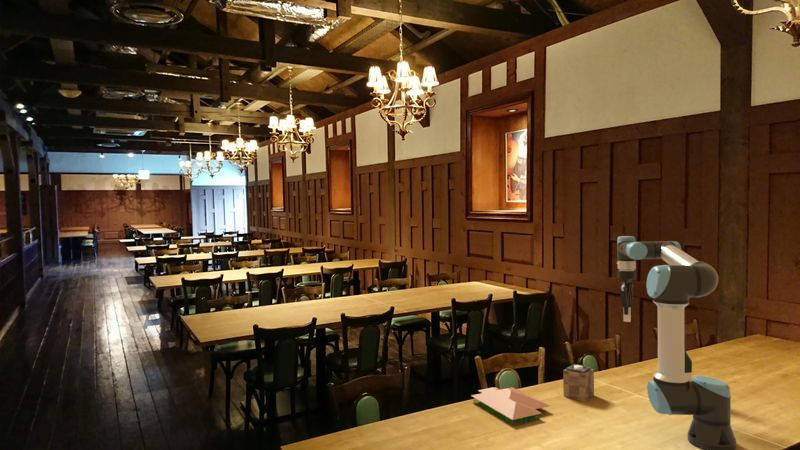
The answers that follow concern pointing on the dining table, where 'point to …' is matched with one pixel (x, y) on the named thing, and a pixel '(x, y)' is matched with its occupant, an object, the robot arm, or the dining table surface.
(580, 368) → the peg
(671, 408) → the robot arm
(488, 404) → the house
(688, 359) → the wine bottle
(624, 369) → the dining table surface
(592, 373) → the socket block
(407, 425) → the dining table surface
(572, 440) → the dining table surface
